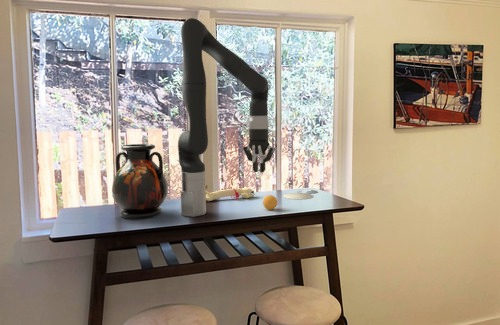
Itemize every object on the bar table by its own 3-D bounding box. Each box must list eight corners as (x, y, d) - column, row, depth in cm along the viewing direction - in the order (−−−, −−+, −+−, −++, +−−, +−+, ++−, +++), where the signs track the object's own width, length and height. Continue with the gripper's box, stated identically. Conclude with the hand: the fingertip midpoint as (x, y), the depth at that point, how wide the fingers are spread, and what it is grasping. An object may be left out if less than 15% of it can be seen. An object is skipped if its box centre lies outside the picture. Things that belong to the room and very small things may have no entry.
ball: (273, 211, 174) (273, 197, 173) (260, 210, 177) (260, 196, 176) (279, 208, 179) (279, 194, 178) (266, 207, 182) (266, 193, 181)
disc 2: (313, 194, 208) (313, 194, 208) (294, 192, 213) (294, 192, 213) (320, 191, 216) (320, 190, 216) (301, 189, 221) (301, 189, 221)
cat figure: (205, 206, 191) (258, 197, 199) (203, 187, 190) (256, 179, 197) (200, 202, 200) (251, 194, 208) (198, 184, 199) (249, 176, 207)
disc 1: (306, 200, 195) (306, 200, 195) (278, 197, 201) (278, 197, 201) (317, 194, 207) (317, 194, 207) (290, 192, 214) (290, 192, 214)
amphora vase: (103, 221, 162) (99, 147, 159) (127, 208, 183) (123, 143, 180) (158, 222, 159) (155, 147, 156) (175, 209, 181) (173, 143, 177)
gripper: (238, 127, 166) (239, 172, 168) (270, 128, 159) (270, 174, 161) (247, 127, 172) (248, 169, 174) (279, 127, 166) (279, 171, 168)
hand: (259, 171), depth 168 cm, fingers closed
